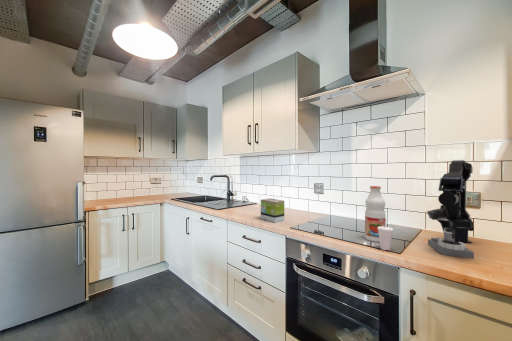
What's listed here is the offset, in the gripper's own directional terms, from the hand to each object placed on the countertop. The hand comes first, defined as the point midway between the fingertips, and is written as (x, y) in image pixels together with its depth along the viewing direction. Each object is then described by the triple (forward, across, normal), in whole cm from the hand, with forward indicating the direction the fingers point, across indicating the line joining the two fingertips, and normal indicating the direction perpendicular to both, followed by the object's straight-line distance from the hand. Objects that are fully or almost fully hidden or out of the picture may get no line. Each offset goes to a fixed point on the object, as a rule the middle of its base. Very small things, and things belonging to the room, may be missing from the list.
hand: (451, 238), depth 97 cm
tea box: (+6, -31, -91) cm, 96 cm away
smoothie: (+6, +6, -27) cm, 28 cm away
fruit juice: (+6, -8, -29) cm, 31 cm away
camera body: (+6, -2, 0) cm, 6 cm away
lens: (+4, 0, 0) cm, 4 cm away
